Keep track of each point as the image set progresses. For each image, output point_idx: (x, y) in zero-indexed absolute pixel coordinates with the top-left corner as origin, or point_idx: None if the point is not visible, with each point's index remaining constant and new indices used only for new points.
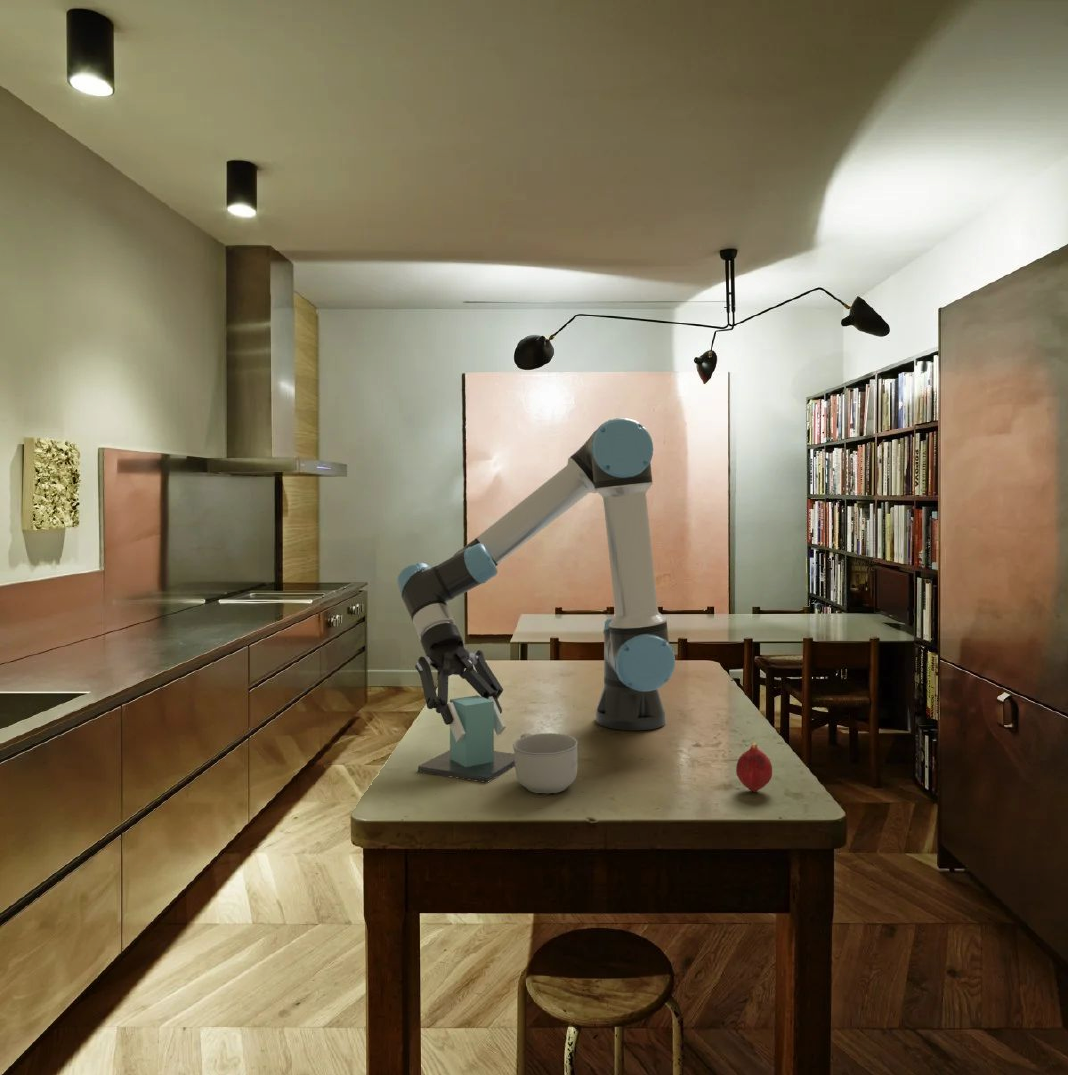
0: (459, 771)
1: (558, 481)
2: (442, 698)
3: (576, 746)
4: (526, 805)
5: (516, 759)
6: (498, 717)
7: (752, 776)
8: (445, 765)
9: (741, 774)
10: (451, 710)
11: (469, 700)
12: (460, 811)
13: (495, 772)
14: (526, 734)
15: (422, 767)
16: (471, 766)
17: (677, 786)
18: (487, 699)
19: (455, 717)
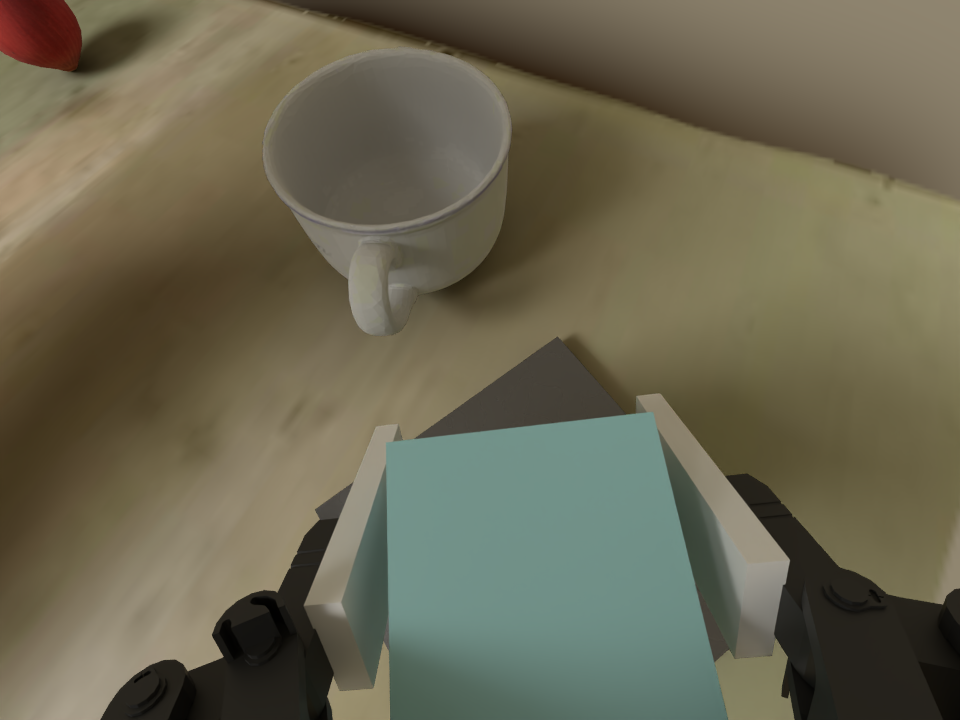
0: None
1: None
2: (886, 619)
3: (318, 73)
4: (533, 157)
5: (507, 170)
6: (385, 462)
7: (65, 2)
8: None
9: (67, 18)
10: (745, 508)
11: (556, 583)
12: (712, 180)
13: (510, 370)
14: (374, 258)
15: None
16: None
17: (155, 137)
18: (395, 533)
19: (706, 459)
